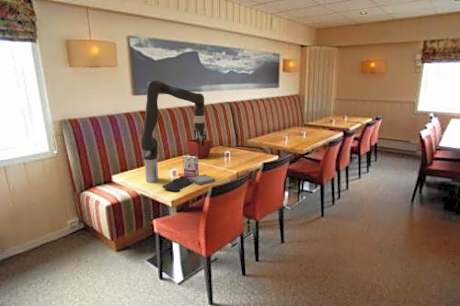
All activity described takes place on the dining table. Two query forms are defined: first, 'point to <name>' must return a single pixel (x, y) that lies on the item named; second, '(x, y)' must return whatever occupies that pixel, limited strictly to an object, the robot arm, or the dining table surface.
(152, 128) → the robot arm
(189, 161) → the candy bar box
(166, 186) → the dark slate chunk
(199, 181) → the slate board
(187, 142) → the plant pot
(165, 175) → the dining table surface
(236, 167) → the dining table surface
